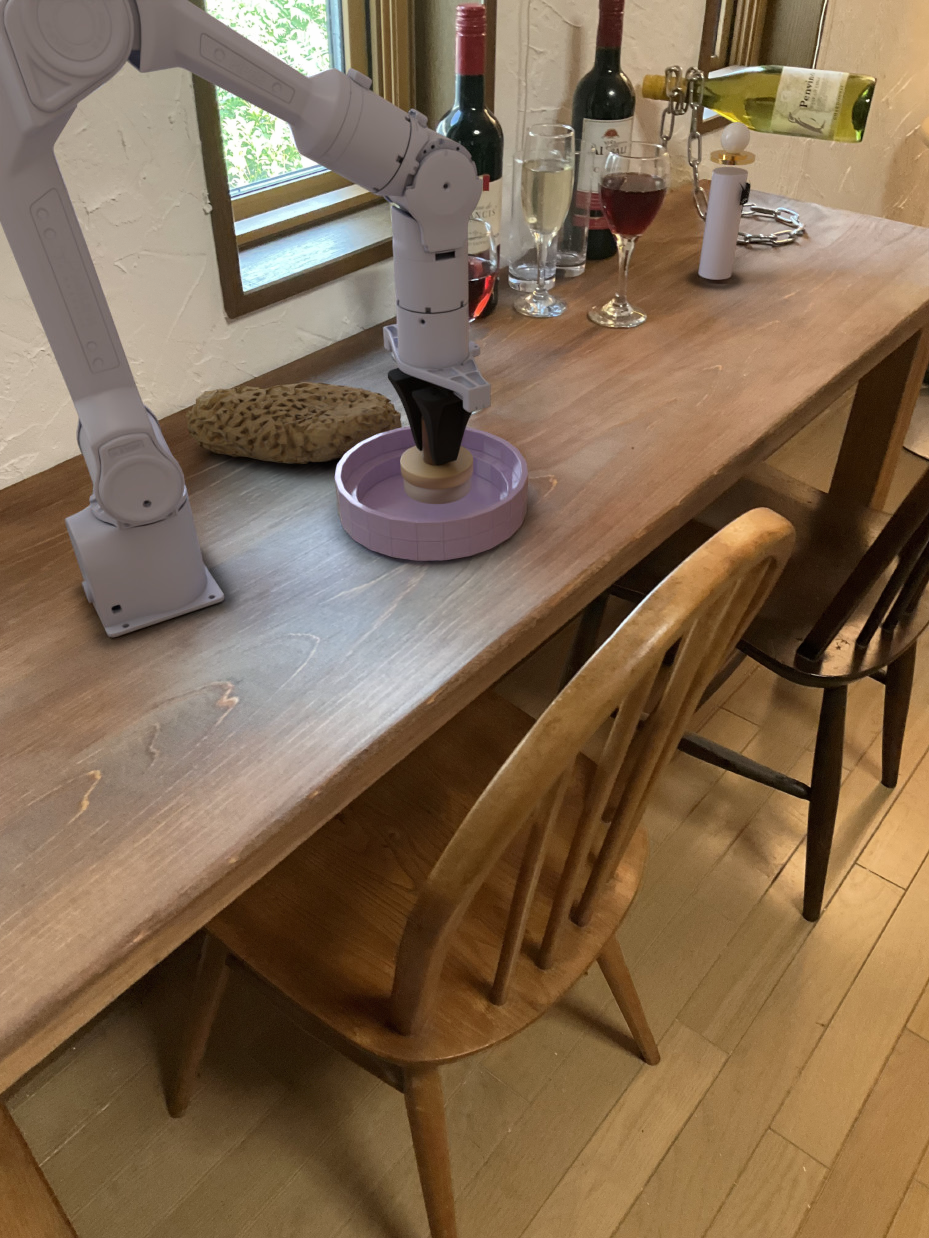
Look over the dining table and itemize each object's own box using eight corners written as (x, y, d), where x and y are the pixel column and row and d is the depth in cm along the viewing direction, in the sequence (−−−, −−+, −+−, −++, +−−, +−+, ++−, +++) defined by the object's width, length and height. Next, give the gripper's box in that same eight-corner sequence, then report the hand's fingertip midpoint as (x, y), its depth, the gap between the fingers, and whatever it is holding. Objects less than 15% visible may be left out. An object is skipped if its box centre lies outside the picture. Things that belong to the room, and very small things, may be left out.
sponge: (188, 476, 97) (354, 478, 88) (168, 398, 94) (339, 393, 85) (266, 441, 107) (421, 440, 98) (251, 370, 104) (410, 362, 95)
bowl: (393, 589, 80) (389, 544, 77) (310, 496, 91) (304, 454, 88) (563, 528, 86) (565, 485, 83) (465, 449, 98) (465, 409, 95)
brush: (423, 513, 82) (420, 442, 78) (389, 480, 87) (384, 411, 82) (486, 492, 85) (487, 423, 81) (450, 462, 89) (449, 394, 85)
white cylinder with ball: (690, 284, 133) (712, 126, 121) (695, 270, 138) (717, 116, 125) (733, 288, 132) (759, 128, 119) (736, 274, 136) (762, 118, 124)
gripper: (525, 320, 72) (520, 478, 80) (432, 264, 82) (436, 410, 90) (443, 340, 69) (447, 501, 78) (356, 280, 79) (368, 429, 87)
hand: (436, 454), depth 84 cm, fingers closed on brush, 2 cm apart
